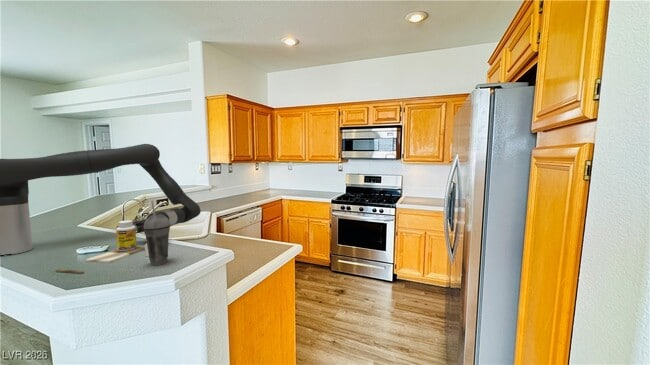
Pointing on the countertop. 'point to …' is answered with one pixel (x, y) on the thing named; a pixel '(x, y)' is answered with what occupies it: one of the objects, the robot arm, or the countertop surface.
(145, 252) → the die
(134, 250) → the game track
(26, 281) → the countertop surface
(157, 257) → the beverage cup
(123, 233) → the supplement bottle
